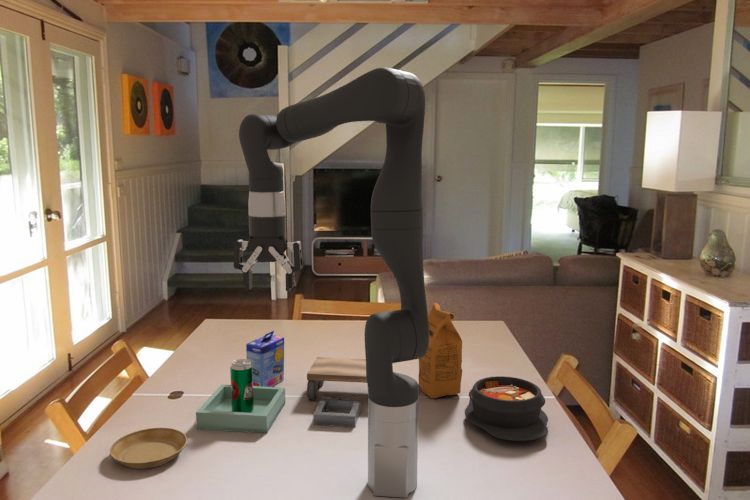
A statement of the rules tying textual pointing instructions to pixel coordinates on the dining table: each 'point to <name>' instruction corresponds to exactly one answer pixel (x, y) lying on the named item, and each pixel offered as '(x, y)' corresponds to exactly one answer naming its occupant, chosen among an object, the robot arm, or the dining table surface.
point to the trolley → (334, 372)
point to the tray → (222, 418)
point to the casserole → (508, 408)
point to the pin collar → (337, 418)
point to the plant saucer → (148, 447)
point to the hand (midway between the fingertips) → (269, 289)
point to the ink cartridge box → (267, 359)
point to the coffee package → (441, 357)
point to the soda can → (242, 386)
